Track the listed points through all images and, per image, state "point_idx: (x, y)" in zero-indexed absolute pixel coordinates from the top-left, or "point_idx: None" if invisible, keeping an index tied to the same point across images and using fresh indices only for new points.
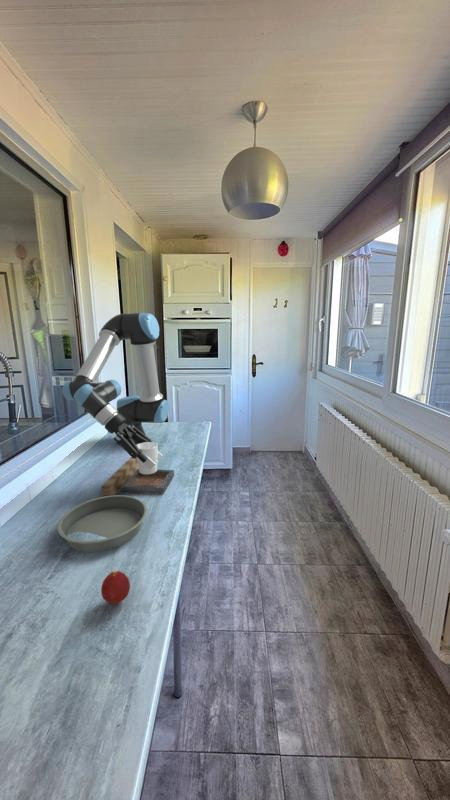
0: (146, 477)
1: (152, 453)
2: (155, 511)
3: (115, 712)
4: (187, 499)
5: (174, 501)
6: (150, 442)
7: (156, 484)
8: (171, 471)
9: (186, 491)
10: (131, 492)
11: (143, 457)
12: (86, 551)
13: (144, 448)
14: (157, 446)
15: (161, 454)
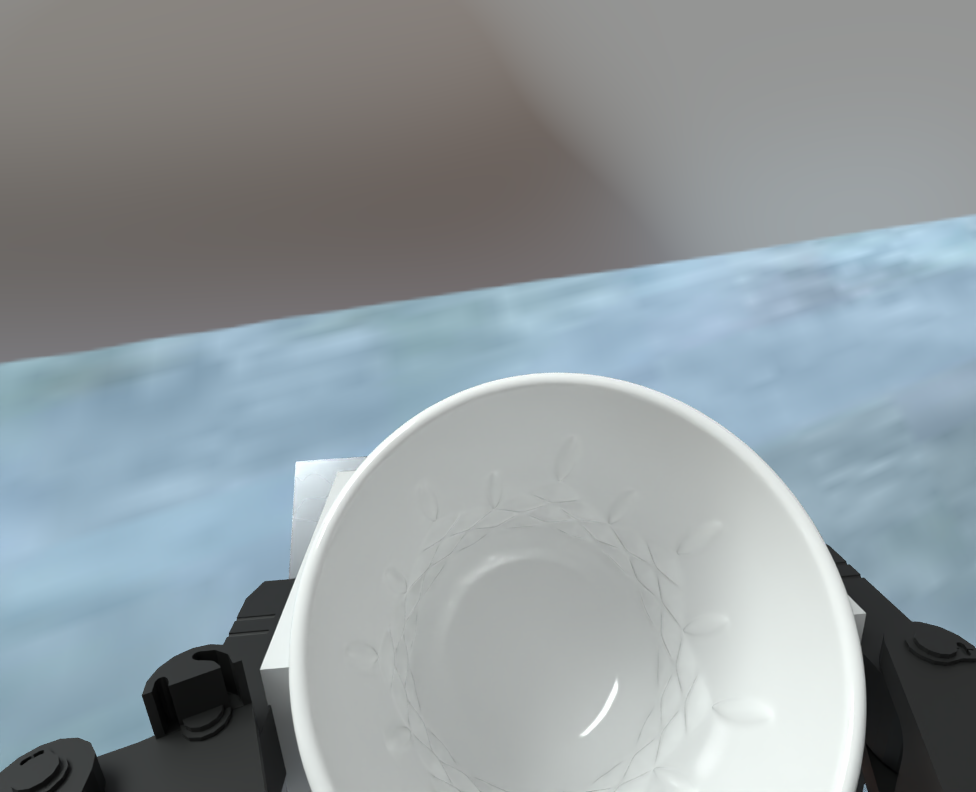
0: None
1: (665, 461)
2: (901, 423)
3: None
4: (678, 279)
5: (731, 347)
6: (308, 629)
7: None
8: (329, 476)
9: (574, 312)
10: None
11: (847, 574)
12: None
13: (390, 787)
14: (507, 389)
15: (346, 480)
